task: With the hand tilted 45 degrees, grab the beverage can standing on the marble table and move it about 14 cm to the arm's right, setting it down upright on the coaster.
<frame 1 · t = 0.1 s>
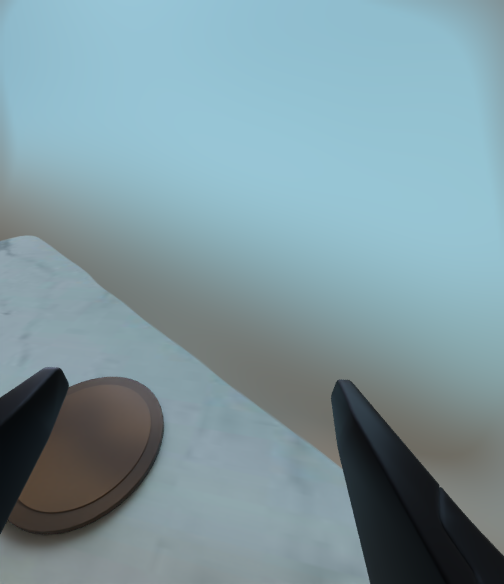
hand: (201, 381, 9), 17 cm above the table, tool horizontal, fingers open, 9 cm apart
coaster: (88, 441, 23), on the table
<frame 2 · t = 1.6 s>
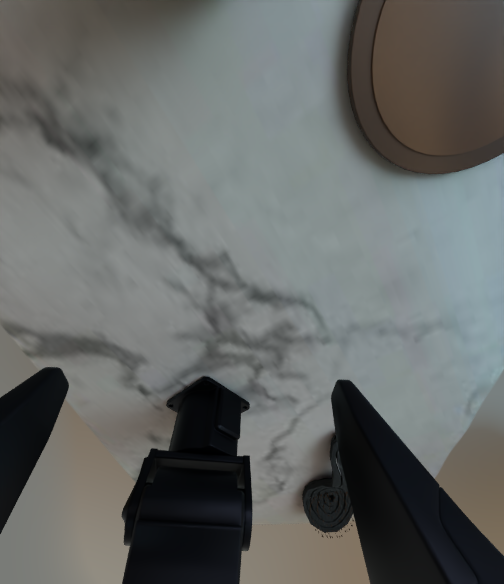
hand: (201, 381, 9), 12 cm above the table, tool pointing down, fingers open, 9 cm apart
coaster: (474, 39, 13), on the table
hairbrush: (332, 473, 40), on the table
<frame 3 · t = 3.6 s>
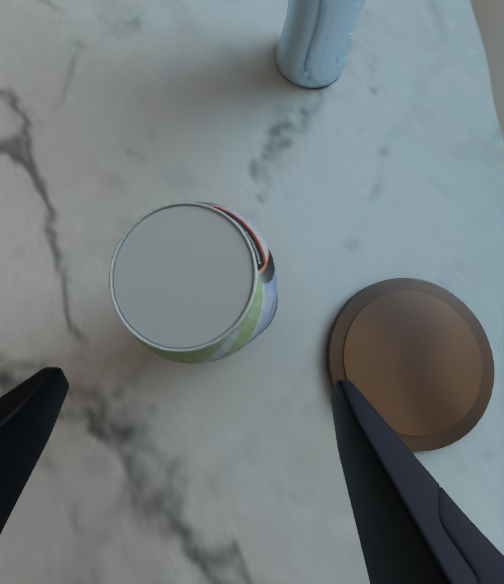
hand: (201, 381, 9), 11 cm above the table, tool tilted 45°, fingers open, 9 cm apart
coaster: (407, 359, 20), on the table
beer glass: (309, 61, 25), on the table
beverage can: (226, 305, 21), on the table
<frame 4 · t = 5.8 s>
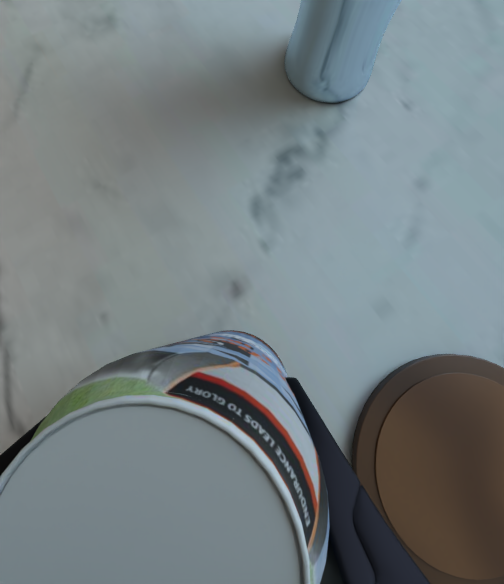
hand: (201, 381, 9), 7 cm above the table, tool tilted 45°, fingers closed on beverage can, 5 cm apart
coaster: (458, 464, 15), on the table
beer glass: (326, 68, 20), on the table
beverage can: (218, 390, 16), on the table, touching gripper
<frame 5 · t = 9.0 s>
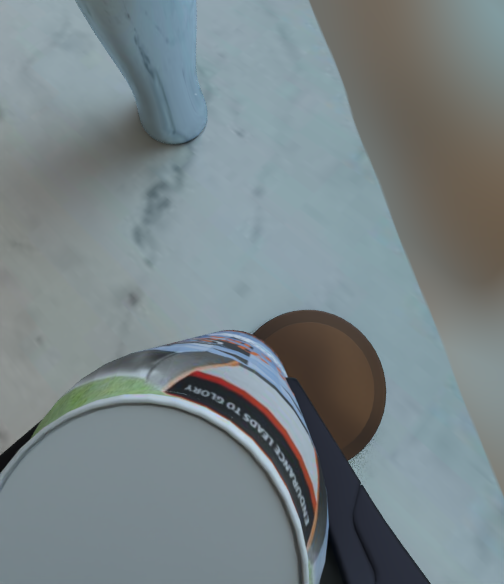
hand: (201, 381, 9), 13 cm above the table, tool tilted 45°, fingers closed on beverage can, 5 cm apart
coaster: (308, 385, 22), on the table
beer glass: (174, 116, 25), on the table
beverage can: (218, 390, 16), point 7 cm above the table, touching gripper
when the fingers open (7 cm above the table, at t = 12.4 s): beverage can stays where it is, resting on coaster.
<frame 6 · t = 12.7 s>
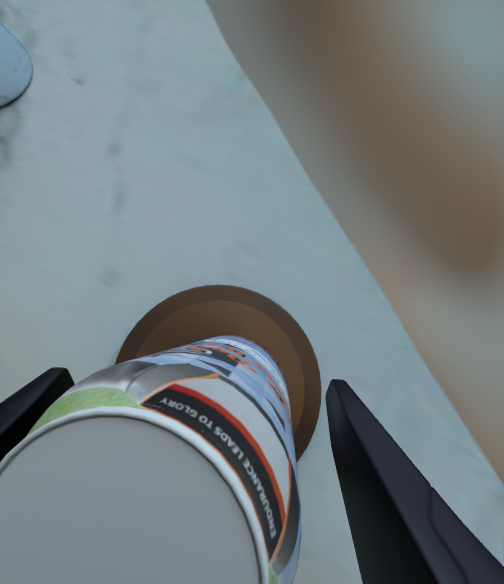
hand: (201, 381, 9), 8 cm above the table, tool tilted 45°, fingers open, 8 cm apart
coaster: (218, 386, 16), on the table
beverage can: (219, 393, 16), point 1 cm above the table, touching coaster
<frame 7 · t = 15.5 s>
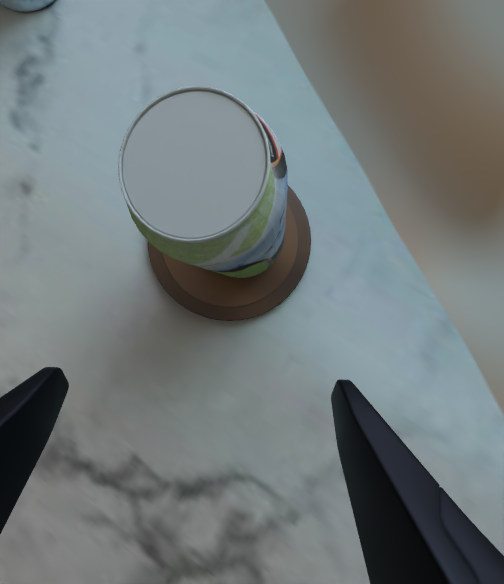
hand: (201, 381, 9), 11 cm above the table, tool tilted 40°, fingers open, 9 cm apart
coaster: (230, 240, 21), on the table
beverage can: (232, 243, 21), point 1 cm above the table, touching coaster
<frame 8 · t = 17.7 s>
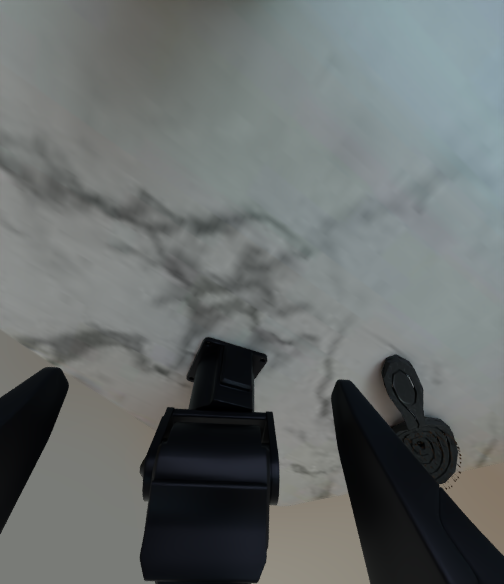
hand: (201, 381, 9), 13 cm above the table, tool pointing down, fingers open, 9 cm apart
hairbrush: (410, 416, 34), on the table
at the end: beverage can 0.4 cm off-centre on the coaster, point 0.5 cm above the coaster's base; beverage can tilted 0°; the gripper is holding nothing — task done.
